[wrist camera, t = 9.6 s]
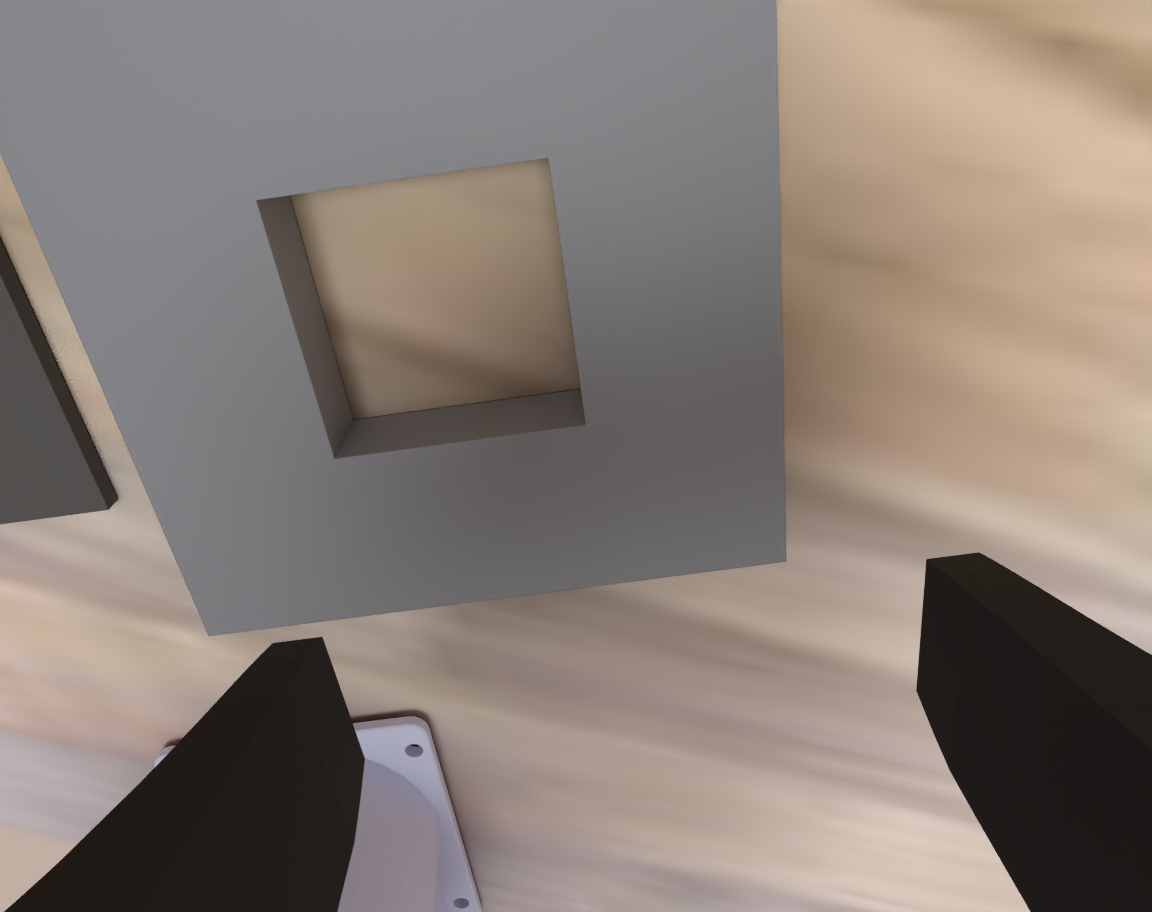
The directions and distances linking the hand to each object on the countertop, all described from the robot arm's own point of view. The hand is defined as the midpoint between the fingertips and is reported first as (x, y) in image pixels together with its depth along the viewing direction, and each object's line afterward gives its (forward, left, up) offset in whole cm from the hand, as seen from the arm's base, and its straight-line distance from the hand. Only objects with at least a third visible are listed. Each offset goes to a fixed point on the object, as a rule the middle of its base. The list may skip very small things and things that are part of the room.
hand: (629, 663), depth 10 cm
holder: (+2, +3, -10) cm, 11 cm away
